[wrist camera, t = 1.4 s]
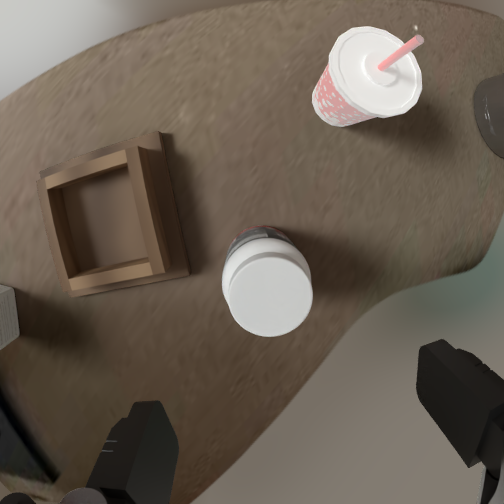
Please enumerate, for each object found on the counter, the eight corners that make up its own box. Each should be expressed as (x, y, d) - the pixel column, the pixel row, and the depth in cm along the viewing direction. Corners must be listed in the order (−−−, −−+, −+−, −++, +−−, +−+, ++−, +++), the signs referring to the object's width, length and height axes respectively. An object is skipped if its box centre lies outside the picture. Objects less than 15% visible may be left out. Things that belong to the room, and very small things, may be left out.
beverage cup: (326, 147, 25) (408, 117, 12) (289, 85, 24) (332, 1, 10) (383, 118, 25) (486, 79, 11) (347, 59, 24) (423, -19, 10)
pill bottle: (306, 270, 27) (339, 316, 18) (248, 302, 28) (252, 362, 18) (273, 211, 26) (292, 228, 17) (213, 245, 27) (198, 281, 17)
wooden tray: (161, 132, 24) (149, 126, 21) (191, 272, 27) (184, 284, 24) (45, 171, 25) (24, 171, 21) (74, 294, 27) (57, 307, 24)
